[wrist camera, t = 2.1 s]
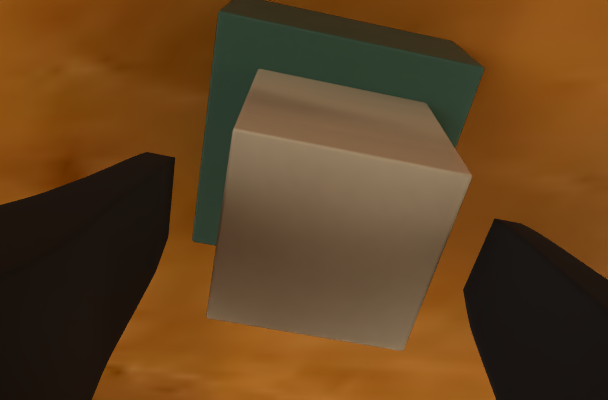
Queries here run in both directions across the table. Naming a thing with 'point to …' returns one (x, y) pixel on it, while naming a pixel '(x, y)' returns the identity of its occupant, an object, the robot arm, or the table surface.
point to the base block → (320, 76)
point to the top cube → (333, 211)
